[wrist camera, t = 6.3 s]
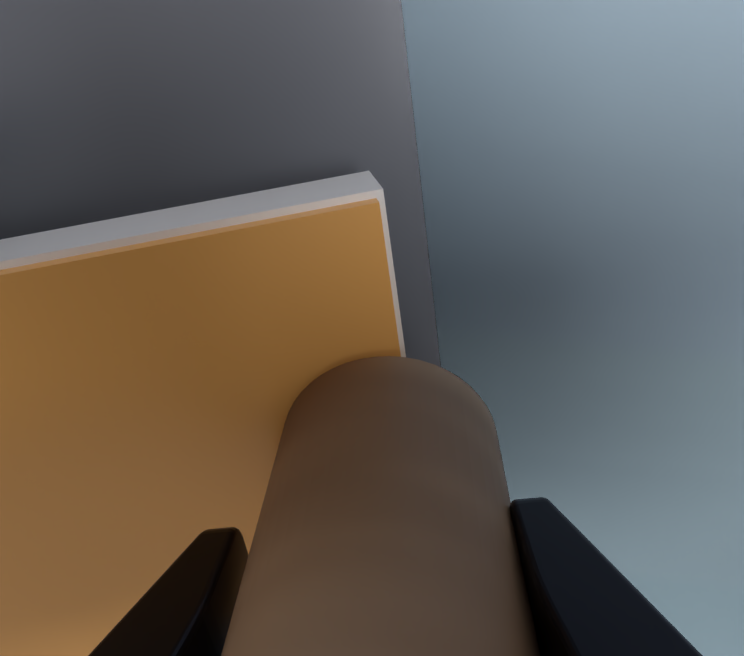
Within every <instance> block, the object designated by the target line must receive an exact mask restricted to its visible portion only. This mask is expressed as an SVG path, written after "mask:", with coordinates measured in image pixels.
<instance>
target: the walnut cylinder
mask: <svg viewBox="0 0 744 656" xmlns="http://www.w3.org/2000/svg"><path fill="white" fill-rule="evenodd" d="M510 504H511V502H510V497H509V492H508V487H507V482H506V477H505V472H504V467H503V462H502V457H501V452H500V447H499V441H498V436H497V431H496V427H495V424H494V421H493V418H492V415H491V413H490V411H489V410H488V408H487V406H486V404H485V403H484V401H483V400H482V399H481V397H480V396H479V395H478V394H477V393H476V392H475V391H474V390H473V389H472V387H471V386H469V385H468V384H467V383H466V382H464V381H463V380H462V379H461V378H459V377H458V376H456V375H454V374H453V373H451V372H449V371H448V370H446V369H443V368H441V367H439V366H437V365H434V364H431V363H428V362H425V361H422V360H418V359H412V358H407V357H396V356H378V357H369V358H363V359H358V360H354V361H351V362H347V363H344V364H342V365H339V366H337V367H335V368H332V369H331V370H329V371H327V372H325V373H324V374H322V375H320V376H319V377H318V378H316V379H315V380H314V381H312V382H311V383H310V384H309V385H308V386H307V387H306V388H305V389H304V390H303V391H302V392H301V393H300V394H299V396H298V397H297V398H296V400H295V401H294V403H293V405H292V406H291V408H290V410H289V412H288V415H287V418H286V421H285V424H284V428H283V431H282V435H281V439H280V442H279V446H278V450H277V453H276V457H275V461H274V464H273V468H272V471H271V475H270V479H269V482H268V486H267V490H266V493H265V497H264V501H263V504H262V508H261V512H260V515H259V519H258V522H257V526H256V530H255V533H254V537H253V541H252V544H251V548H250V552H249V555H248V559H247V563H246V566H245V570H244V574H243V577H242V581H241V584H240V588H239V592H238V595H237V599H236V603H235V606H234V610H233V614H232V617H231V621H230V625H229V628H228V632H227V635H226V639H225V643H224V646H223V650H222V654H221V656H541V655H540V650H539V645H538V640H537V635H536V630H535V625H534V619H533V614H532V610H531V605H530V601H529V596H528V591H527V587H526V582H525V577H524V573H523V568H522V563H521V559H520V554H519V549H518V544H517V540H516V535H515V530H514V526H513V521H512V516H511V512H510Z"/></svg>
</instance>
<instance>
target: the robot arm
mask: <svg viewBox="0 0 744 656" xmlns="http://www.w3.org/2000/svg"><path fill="white" fill-rule="evenodd" d="M510 512H511V516H512V521H513V526H514V530H515V535H516V540H517V544H518V549H519V554H520V559H521V563H522V568H523V573H524V577H525V582H526V587H527V591H528V596H529V601H530V605H531V610H532V614H533V619H534V625H535V630H536V635H537V640H538V645H539V650H540V655H541V656H702V655H701V654H700V653H699V652H698V651H697V650H696V649H695V648H694V647H693V646H692V645H691V643H690V642H689V641H688V640H687V639H686V638H685V637H684V636H683V635H682V634H681V633H680V632H679V631H678V630H677V629H676V628H675V627H674V626H673V625H672V624H671V623H670V622H669V621H668V620H667V619H666V618H665V617H664V616H663V615H662V614H661V613H660V612H659V611H658V610H657V609H656V608H655V607H654V606H653V605H652V604H651V603H650V602H649V601H648V600H647V599H646V598H645V597H644V596H643V595H642V594H641V593H640V592H639V591H638V590H637V589H636V588H635V587H634V586H633V585H632V584H631V583H630V582H629V581H628V580H627V579H626V578H625V577H624V576H623V575H622V574H621V573H620V572H619V571H618V570H617V569H616V567H615V566H614V565H613V564H612V563H611V562H610V561H609V560H608V559H607V558H606V557H605V556H604V555H603V554H602V553H601V552H600V551H599V550H598V549H597V548H596V547H595V546H594V545H593V544H592V543H591V542H590V541H589V540H588V539H587V538H586V537H585V536H584V535H583V534H582V533H581V532H580V531H579V530H578V529H577V528H576V527H575V526H574V525H573V524H572V523H571V522H570V521H569V520H568V519H567V518H566V517H565V516H564V515H563V514H562V513H561V512H560V511H559V510H558V509H557V508H556V507H555V506H554V505H553V504H552V503H551V502H550V501H549V500H548V499H546V498H543V497H538V498H528V499H517V500H514V501H512V502H511V504H510ZM248 555H249V554H248V551H247V548H246V545H245V542H244V538H243V536H242V533H241V532H240V530H239V529H237V528H235V527H226V528H215V529H207V530H205V531H203V532H202V533H200V534H199V535H198V536H197V537H196V538H195V539H194V541H193V542H192V543H191V544H190V545H189V546H188V547H187V548H186V549H185V550H184V551H183V553H182V554H181V555H180V556H179V557H178V558H177V559H176V560H175V561H174V562H173V563H172V565H171V566H170V567H169V568H168V569H167V570H166V571H165V572H164V573H163V574H162V575H161V577H160V578H159V579H158V580H157V581H156V582H155V583H154V584H153V585H152V586H151V587H150V589H149V590H148V591H147V592H146V593H145V594H144V595H143V596H142V597H141V598H140V599H139V601H138V602H137V603H136V604H135V605H134V606H133V607H132V608H131V609H130V610H129V611H128V613H127V614H126V615H125V616H124V617H123V618H122V619H121V620H120V621H119V622H118V623H117V625H116V626H115V627H114V628H113V629H112V630H111V631H110V632H109V633H108V634H107V635H106V637H105V638H104V639H103V640H102V641H101V642H100V643H99V644H98V645H97V646H96V647H95V649H94V650H93V651H92V652H91V653H90V654H89V655H88V656H221V654H222V650H223V646H224V643H225V639H226V635H227V632H228V628H229V625H230V621H231V617H232V614H233V610H234V606H235V603H236V599H237V595H238V592H239V588H240V584H241V581H242V577H243V574H244V570H245V566H246V563H247V559H248Z"/></svg>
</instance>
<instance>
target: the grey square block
mask: <svg viewBox="0 0 744 656" xmlns="http://www.w3.org/2000/svg"><path fill="white" fill-rule="evenodd" d="M364 171H370V172H371V174H372V175H373V176H374V178H375V179H376V180H377V181H378V183H379V184H380V185H381V187H382V188H383V192H384V199H385V206H386V214H387V221H388V228H389V236H390V243H391V250H392V258H393V265H394V272H395V280H396V287H397V294H398V302H399V309H400V317H401V324H402V331H403V339H404V346H405V353H406V357H407V358H412V359H418V360H422V361H425V362H428V363H431V364H434V365H437V366H439V367H441V364H440V355H439V345H438V336H437V327H436V318H435V309H434V299H433V290H432V281H431V272H430V263H429V253H428V244H427V235H426V226H425V217H424V208H423V198H422V189H421V180H420V171H419V162H418V152H417V143H416V134H415V125H414V116H413V106H412V97H411V88H410V79H409V70H408V61H407V51H406V42H405V33H404V24H403V15H402V5H401V0H0V240H1V239H6V238H12V237H17V236H22V235H28V234H33V233H38V232H44V231H49V230H54V229H60V228H65V227H70V226H76V225H81V224H86V223H92V222H97V221H102V220H108V219H113V218H118V217H124V216H129V215H134V214H140V213H145V212H150V211H156V210H161V209H166V208H172V207H177V206H182V205H188V204H193V203H198V202H204V201H209V200H215V199H220V198H225V197H231V196H236V195H241V194H247V193H252V192H257V191H263V190H268V189H273V188H279V187H284V186H289V185H295V184H300V183H305V182H311V181H316V180H321V179H327V178H332V177H337V176H343V175H348V174H353V173H359V172H364Z"/></svg>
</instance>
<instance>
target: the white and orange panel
mask: <svg viewBox="0 0 744 656" xmlns="http://www.w3.org/2000/svg"><path fill="white" fill-rule="evenodd" d="M378 356H396V357H406V353H405V346H404V339H403V331H402V324H401V317H400V309H399V302H398V294H397V287H396V280H395V272H394V265H393V258H392V250H391V243H390V236H389V228H388V221H387V214H386V206H385V199H384V192H383V188H382V187H381V185H380V184H379V183H378V181H377V180H376V179H375V178H374V176H373V175H372V174H371V172H370V171H364V172H359V173H353V174H348V175H343V176H337V177H332V178H327V179H321V180H316V181H311V182H305V183H300V184H295V185H289V186H284V187H279V188H273V189H268V190H263V191H257V192H252V193H247V194H241V195H236V196H231V197H225V198H220V199H215V200H209V201H204V202H198V203H193V204H188V205H182V206H177V207H172V208H166V209H161V210H156V211H150V212H145V213H140V214H134V215H129V216H124V217H118V218H113V219H108V220H102V221H97V222H92V223H86V224H81V225H76V226H70V227H65V228H60V229H54V230H49V231H44V232H38V233H33V234H28V235H22V236H17V237H12V238H6V239H1V240H0V656H88V655H89V654H90V653H91V652H92V651H93V650H94V649H95V647H96V646H97V645H98V644H99V643H100V642H101V641H102V640H103V639H104V638H105V637H106V635H107V634H108V633H109V632H110V631H111V630H112V629H113V628H114V627H115V626H116V625H117V623H118V622H119V621H120V620H121V619H122V618H123V617H124V616H125V615H126V614H127V613H128V611H129V610H130V609H131V608H132V607H133V606H134V605H135V604H136V603H137V602H138V601H139V599H140V598H141V597H142V596H143V595H144V594H145V593H146V592H147V591H148V590H149V589H150V587H151V586H152V585H153V584H154V583H155V582H156V581H157V580H158V579H159V578H160V577H161V575H162V574H163V573H164V572H165V571H166V570H167V569H168V568H169V567H170V566H171V565H172V563H173V562H174V561H175V560H176V559H177V558H178V557H179V556H180V555H181V554H182V553H183V551H184V550H185V549H186V548H187V547H188V546H189V545H190V544H191V543H192V542H193V541H194V539H195V538H196V537H197V536H198V535H199V534H200V533H202V532H203V531H205V530H207V529H215V528H226V527H235V528H237V529H239V530H240V532H241V533H242V536H243V538H244V542H245V545H246V548H247V551H248V554H249V552H250V548H251V544H252V541H253V537H254V533H255V530H256V526H257V522H258V519H259V515H260V512H261V508H262V504H263V501H264V497H265V493H266V490H267V486H268V482H269V479H270V475H271V471H272V468H273V464H274V461H275V457H276V453H277V450H278V446H279V442H280V439H281V435H282V431H283V428H284V424H285V421H286V418H287V415H288V412H289V410H290V408H291V406H292V405H293V403H294V401H295V400H296V398H297V397H298V396H299V394H300V393H301V392H302V391H303V390H304V389H305V388H306V387H307V386H308V385H309V384H310V383H311V382H312V381H314V380H315V379H316V378H318V377H319V376H320V375H322V374H324V373H325V372H327V371H329V370H331V369H332V368H335V367H337V366H339V365H342V364H344V363H347V362H351V361H354V360H358V359H363V358H369V357H378Z"/></svg>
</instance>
